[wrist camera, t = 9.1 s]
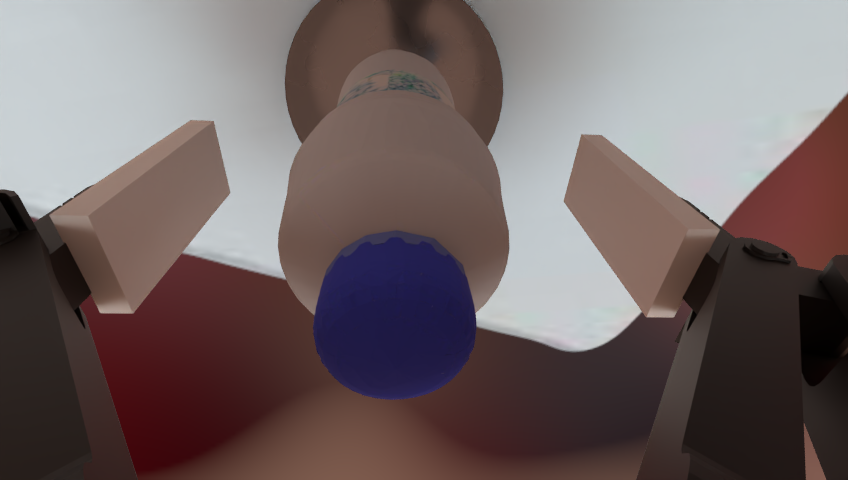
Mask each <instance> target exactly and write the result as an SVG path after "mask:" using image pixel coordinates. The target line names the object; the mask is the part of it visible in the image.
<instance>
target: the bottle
mask: <svg viewBox="0 0 848 480" xmlns="http://www.w3.org/2000/svg"><path fill="white" fill-rule="evenodd" d="M278 249H279V256H280V263H281V266H282V269H283V272H284V274H285V277H286V279H287V282H288V284H289V286H290V287H291V289H292V290H293V292H294V293H295V295H296V296H297V298H298V299H299V301H300V302H301V303H302V304H303V305H304V306H306V308H307V309H308V310H309V311H310V312H311V313H312V314H314V315H315V316H314V325H313V330H314V339H315V343H316V349H317V353H318V354H319V356H320V357H321V361H322V363H323V364H324V365H325V367H326V368H327V369H328V371H329V372H330V373H331V374H332V376H334V378H335V379H337V380H338V381H339V382H340V383H341V384H342V385H344V386H345V387H347V388H349V389H351V390H352V391H355V392H357V393H360V394H362V395H365V396H369V397H374V398H380V399H407V398H413V397H418V396H421V395H425V394H428V393H430V392H432V391H435V390H437V389H439V388H441V387H442V386H444V385H445V384H447V383H448V382H449V381H450V380H452V379H453V378H454V377H455V376H456V375H457V374H458V373H459V371H460V370H461V369H462V367H463V366H464V364H465V363H466V362H467V361H468V359H469V355H470V353H471V351H472V350H473V347H474V342H475V334H476V315H475V313H476V312H477V311H478V310H479V309H480V308H481V307H483V306H484V305H485V304H486V302H487V301H488V300H489V298H490V297H491V296H492V294H493V293H494V292H495V290H496V289H497V287H498V285H499V283H500V281H501V278H502V276H503V274H504V271H505V268H506V265H507V260H508V254H509V230H508V226H507V221H506V216H505V212H504V207H503V202H502V195H501V186H500V178H499V174H498V170H497V167H496V164H495V162H494V159H493V156H492V154H491V153H490V151H489V149H488V147H487V146H486V145H485V143H484V142H483V140H482V139H481V138H480V137H479V135H478V134H477V133H476V131H475V130H474V128H473V127H472V126H471V125H470V124H469V123H468V122H467V121H466V120H465V119H464V118H463V117H462V116H461V115H460V114H459V113H458V112H457V111H456V110H455V106H454V101H453V97H452V94H451V91H450V88H449V86H448V84H447V83H446V81H445V79H444V77H443V76H442V75H441V73H440V72H439V71H438V69H437V68H436V67H435V66H434V65H433V64H432V63H431V62H429V61H428V60H427V59H425V58H423V57H421V56H418V55H416V54H414V53H411V52H407V51H403V50H398V49H390V50H384V51H381V52H379V53H376V54H374V55H371V56H369V57H368V58H366V59H365V60H363V61H362V62H360V63H359V64H358V65H357V66H356V67H355V68H354V69H353V70H352V71H351V72H350V74H349V75H348V77H347V79H346V81H345V83H344V85H343V87H342V89H341V92H340V96H339V100H338V104H337V107H336V109H334V110H333V111H331V112H330V113H329V114H327V115H326V116H325V117H324V118H323V119H322V120H321V121H320V123H319V124H318V125H317V126H316V127H315V129H314V130H313V131H312V132H311V133H310V134H309V136H308V137H307V138H306V140H305V141H304V142H303V144H302V145H301V147H300V149H299V151H298V152H297V154H296V156H295V158H294V161H293V164H292V167H291V170H290V175H289V183H288V192H287V196H286V201H285V206H284V210H283V215H282V220H281V224H280V229H279V237H278Z"/></svg>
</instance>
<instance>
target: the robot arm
mask: <svg viewBox="0 0 848 480" xmlns="http://www.w3.org/2000/svg"><path fill="white" fill-rule="evenodd" d="M229 194H230V189H229V185H228V181H227V176H226V172H225V168H224V164H223V159H222V155H221V151H220V147H219V142H218V138H217V134H216V130H215V125H214V121H197V120H190V121H189V122H187V123H186V124H184V125H183V126H181V127H180V128H178V129H177V130H175V131H174V132H172V133H171V134H169V135H168V136H166V137H165V138H163V139H162V140H160V141H159V142H157V143H156V144H154V145H153V146H151V147H150V148H149V149H147V150H146V151H144V152H143V153H141V154H140V155H138V156H137V157H135V158H134V159H132V160H131V161H129V162H128V163H126V164H125V165H123V166H122V167H120V168H119V169H117V170H116V171H114V172H113V173H111V174H110V175H108V176H107V177H105V178H104V179H102V180H101V181H99V182H98V183H96V184H94V185H92V186H89V187H87V188H86V189H84V190H83V191H81V192H80V193H78V194H77V195H75V196H74V198H70V199H69V200H67V201H66V202H64V203H63V206H58V207H57V208H55V209H54V210H52V211H51V212H49V213H48V214H46V215H45V216H43V217H42V218H40V219H39V220H37V221H36V222H34V223H33V221H32V220H31V217H30V216H29V214H28V212H27V210H26V208H25V207H24V205H23V203H22V201H21V199H20V198H19V196H18V195H17V194H16V193H15V192H14V191H9V190H0V480H138V479H137V476H136V473H135V470H134V467H133V463H132V461H131V457H130V454H129V451H128V448H127V444H126V441H125V438H124V435H123V432H122V429H121V426H120V423H119V419H118V416H117V413H116V410H115V407H114V404H113V401H112V397H111V395H110V391H109V388H108V385H107V382H106V379H105V376H104V373H103V369H102V366H101V363H100V360H99V357H98V354H97V351H96V347H95V344H94V341H93V338H92V335H91V332H90V329H89V326H88V322H87V319H86V316H85V315H84V313H83V311H82V309H81V308H80V306H79V305H80V304H81V303H82V302H83V301H84V300H85V299H86V298H87V297H88V296H89V295H90V294H91V296H92V297H93V299H94V302H95V304H96V305H97V307H98V309H99V311H100V313H134V311H135V310H136V309H137V308H138V306H139V305H140V304H141V303H142V301H143V300H144V299H145V298H146V297H147V295H148V294H149V293H150V292H151V290H152V289H153V288H154V287H155V285H156V284H157V283H158V282H159V280H160V279H161V278H162V277H163V276H164V274H165V273H166V272H167V271H168V269H169V268H170V267H171V265H172V264H173V263H174V262H175V261H176V259H177V258H178V257H179V256H180V254H181V253H182V252H183V251H184V250H185V248H186V247H187V246H188V245H189V243H190V242H191V241H192V240H193V238H194V237H195V236H196V235H197V233H198V232H199V231H200V230H201V228H202V227H203V226H204V225H205V223H206V222H207V221H208V220H209V219H210V217H211V216H212V215H213V214H214V212H215V211H216V210H217V209H218V207H219V206H220V205H221V204H222V202H223V201H224V200H225V199H226V197H227V196H228V195H229ZM564 203H565V204H566V205H567V207H568V208H569V210H570V211H571V212H572V214H573V215H574V217H575V218H576V219H577V221H578V222H579V224H580V225H581V226H582V228H583V229H584V231H585V232H586V233H587V235H588V236H589V238H590V239H591V240H592V242H593V243H594V245H595V246H596V247H597V249H598V250H599V252H600V253H601V254H602V256H603V257H604V259H605V260H606V261H607V263H608V264H609V266H610V267H611V268H612V270H613V271H614V273H615V274H616V275H617V277H618V278H619V280H620V281H621V282H622V284H623V285H624V287H625V288H626V289H627V291H628V292H629V294H630V295H631V296H632V298H633V299H634V301H635V302H636V303H637V305H638V306H639V308H640V309H641V310H642V312H643V313H644V315H645V316H646V317H674V316H675V314H676V312H677V310H678V308H679V307H680V305H681V303H682V301H683V299H684V300H685V301H686V303H687V304H688V305H689V306H690V307H691V308H692V309H693V310H692V311H691V313H690V315H689V317H688V319H687V320H686V322H685V324H684V326H683V328H682V330H681V331H680V333H679V335H678V337H677V338H676V340H675V342H677V343H679V345H678V349H677V352H676V355H675V358H674V361H673V364H672V368H671V371H670V374H669V377H668V380H667V384H666V387H665V390H664V393H663V396H662V399H661V403H660V406H659V409H658V412H657V415H656V418H655V422H654V425H653V428H652V431H651V434H650V437H649V441H648V444H647V447H646V451H645V453H644V456H643V460H642V463H641V466H640V470H639V472H638V475H637V479H636V480H806V474H805V448H804V423H805V426H806V428H807V431H808V433H809V436H810V439H811V441H812V444H813V446H814V449H815V451H816V454H817V457H818V459H819V461H820V464H821V467H822V469H823V472H824V474H825V477H826V480H848V255H836V256H834V257H833V258H832V259H831V260H830V262H829V263H828V264H827V266H826V267H825V268H824V270H823V271H820V270H815V269H809V268H804V267H799V266H797V262H796V260H795V258H794V257H793V256H791V254H789V253H788V252H787V251H785V250H783V249H781V248H779V247H777V246H775V245H773V244H771V243H768V242H765V241H761V240H757V239H753V238H743V237H740V238H735V237H733V236H732V235H731V234H729V233H728V232H727V231H726V230H724V229H723V228H722V227H721V226H719V225H718V224H717V223H715V222H714V221H713V220H709V217H708V216H707V215H705V214H704V213H703V212H700V210H699V209H698V208H696V207H695V206H694V205H693V204H691V203H690V202H689V201H687V200H685V199H683V198H681V197H679V196H677V195H676V194H675V193H674V192H672V191H671V190H670V189H669V188H667V187H666V186H665V185H664V184H662V183H661V182H660V181H658V180H657V179H656V178H655V177H653V176H652V175H651V174H650V173H648V172H647V171H646V170H645V169H643V168H642V167H641V166H640V165H638V164H637V163H636V162H635V161H633V160H632V159H631V158H630V157H628V156H627V155H626V154H625V153H623V152H622V151H621V150H620V149H618V148H617V147H616V146H615V145H613V144H612V143H611V142H610V141H608V140H607V139H606V138H605V137H603V136H602V135H581V138H580V142H579V146H578V149H577V153H576V157H575V161H574V164H573V168H572V172H571V176H570V179H569V183H568V187H567V190H566V194H565V198H564ZM803 421H804V422H803Z"/></svg>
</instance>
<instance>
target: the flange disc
mask: <svg viewBox="0 0 848 480" xmlns="http://www.w3.org/2000/svg"><path fill="white" fill-rule="evenodd" d="M390 49H398V50H403V51H407V52H411V53H414V54H416V55H418V56H421V57H423V58H425V59H427V60H428V61H429V62H431V63H432V64H433V65H434V66H435V67H436V68H437V69H438V71H439V72H440V73H441V75H442V76H443V77H444V79H445V81H446V83H447V84H448V86H449V88H450V91H451V94H452V97H453V101H454V106H455V110H456V111H457V112H458V113H459V114H460V115H461V116H462V117H463V118H464V119H465V120H466V121H467V122H468V123H469V124H470V125H471V126H472V127H473V128H474V130H475V131H476V133H477V134H478V135H479V137H480V138H481V139H482V140H483V142H484V143H485V145H486V146H488V145H489V143H490V141H491V138H492V136H493V134H494V132H495V129H496V126H497V123H498V121H499V116H500V112H501V107H502V97H503V80H502V72H501V66H500V61H499V57H498V54H497V51H496V47H495V45H494V43H493V41H492V39H491V36H490V34H489V32H488V31H487V29H486V27H485V26H484V24H483V23H482V21H481V19H480V18H479V17H478V16H477V15H476V13H475V12H474V11H473V10H472V9H471V7H470V6H468V5H467V4H466V3H465V2H464V1H463V0H321V1H320V2H319V3H318V4H317V5H316V6H315V7H314V8H313V9H312V10H311V11H310V12H309V14H308V15H307V16H306V18H305V19H304V21H303V22H302V23H301V25H300V27H299V29H298V31H297V33H296V35H295V37H294V40H293V42H292V45H291V48H290V51H289V55H288V60H287V65H286V75H285V90H286V101H287V106H288V111H289V115H290V118H291V121H292V124H293V127H294V129H295V131H296V133H297V135H298V137H299V139H300V141H301V143H302V144H303V142H304V141H305V140H306V138H307V137H308V136H309V134H310V133H311V132H312V131H313V130H314V129H315V127H316V126H317V125H318V124H319V123H320V121H321V120H322V119H323V118H324V117H325V116H326V115H327V114H329V113H330V112H331V111H333V110H334V109H336V107H337V104H338V100H339V96H340V92H341V89H342V87H343V85H344V83H345V81H346V79H347V77H348V75H349V74H350V72H351V71H352V70H353V69H354V68H355V67H356V66H357V65H358V64H359V63H360V62H362V61H363V60H365V59H366V58H368V57H369V56H371V55H374V54H376V53H379V52H381V51H384V50H390Z"/></svg>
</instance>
